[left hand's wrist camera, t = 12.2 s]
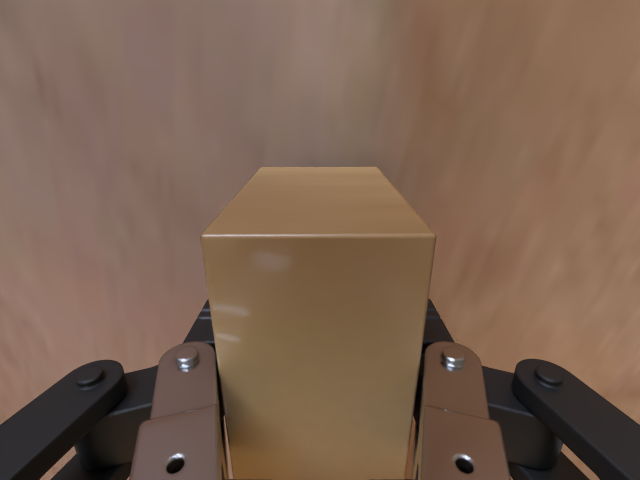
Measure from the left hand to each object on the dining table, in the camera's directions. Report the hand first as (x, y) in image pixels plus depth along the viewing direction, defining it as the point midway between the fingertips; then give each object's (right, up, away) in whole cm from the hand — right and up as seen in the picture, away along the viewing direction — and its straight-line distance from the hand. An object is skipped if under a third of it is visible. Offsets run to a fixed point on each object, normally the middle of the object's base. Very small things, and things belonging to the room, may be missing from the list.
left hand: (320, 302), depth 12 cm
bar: (0, -20, +11) cm, 22 cm away
